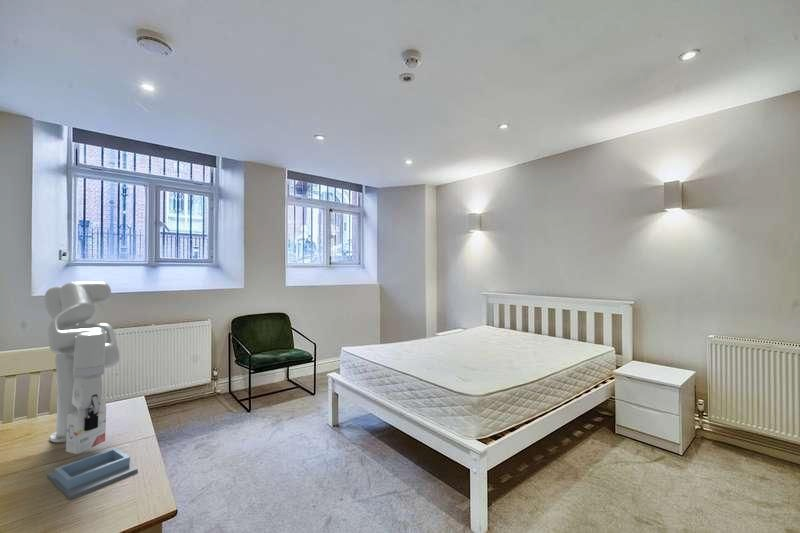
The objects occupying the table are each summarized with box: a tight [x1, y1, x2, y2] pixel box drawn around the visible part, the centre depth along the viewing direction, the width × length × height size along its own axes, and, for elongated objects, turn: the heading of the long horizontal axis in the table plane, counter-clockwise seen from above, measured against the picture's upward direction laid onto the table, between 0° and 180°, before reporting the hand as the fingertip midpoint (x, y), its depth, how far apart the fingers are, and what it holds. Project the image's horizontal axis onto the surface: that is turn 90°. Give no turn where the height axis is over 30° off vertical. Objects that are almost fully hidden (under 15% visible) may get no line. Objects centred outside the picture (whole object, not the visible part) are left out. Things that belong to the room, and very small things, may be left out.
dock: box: [46, 447, 139, 501], centre depth 101 cm, size 18×15×4 cm
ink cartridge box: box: [65, 397, 107, 455], centre depth 112 cm, size 9×5×15 cm, turn 167°
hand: (86, 425), depth 112 cm, fingers closed on ink cartridge box, 6 cm apart
